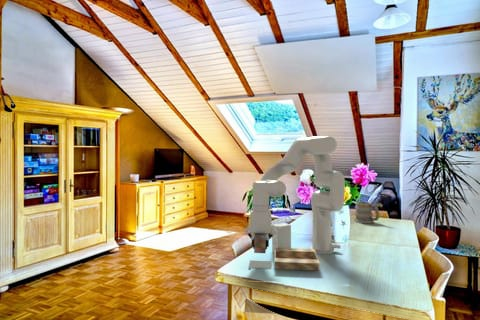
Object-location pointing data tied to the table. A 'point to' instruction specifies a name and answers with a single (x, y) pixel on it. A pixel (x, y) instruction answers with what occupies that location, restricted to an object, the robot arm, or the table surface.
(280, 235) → the skincare box
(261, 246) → the block
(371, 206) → the tankard
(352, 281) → the table surface
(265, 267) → the coaster
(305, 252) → the wooden tray
